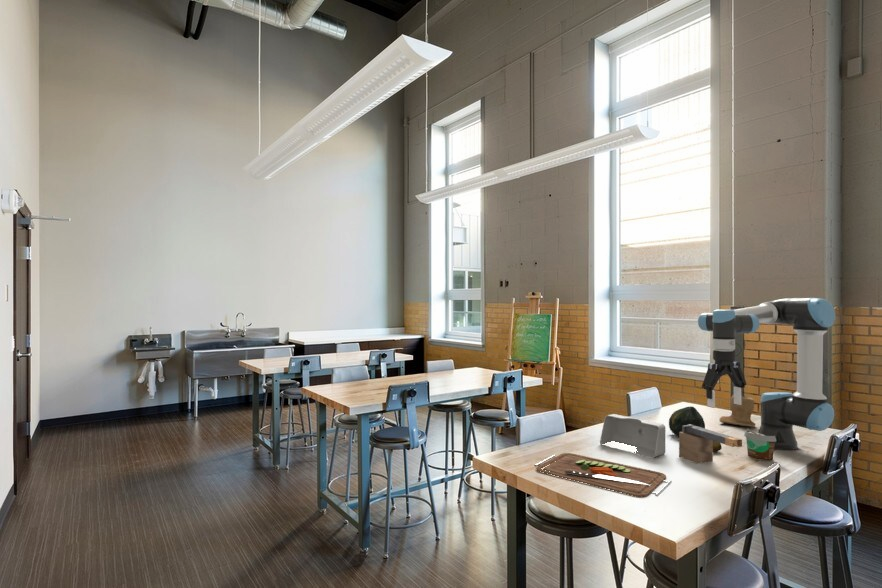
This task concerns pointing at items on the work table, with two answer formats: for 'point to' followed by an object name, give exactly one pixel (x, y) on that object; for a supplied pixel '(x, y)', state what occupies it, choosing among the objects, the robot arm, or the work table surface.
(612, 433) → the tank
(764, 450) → the food container
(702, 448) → the tong rest
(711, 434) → the bar
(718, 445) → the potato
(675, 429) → the squash
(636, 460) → the work table surface
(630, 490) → the chopping board
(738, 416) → the brown upright flared piece
